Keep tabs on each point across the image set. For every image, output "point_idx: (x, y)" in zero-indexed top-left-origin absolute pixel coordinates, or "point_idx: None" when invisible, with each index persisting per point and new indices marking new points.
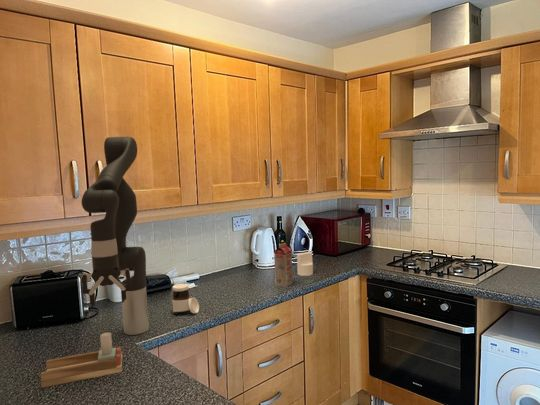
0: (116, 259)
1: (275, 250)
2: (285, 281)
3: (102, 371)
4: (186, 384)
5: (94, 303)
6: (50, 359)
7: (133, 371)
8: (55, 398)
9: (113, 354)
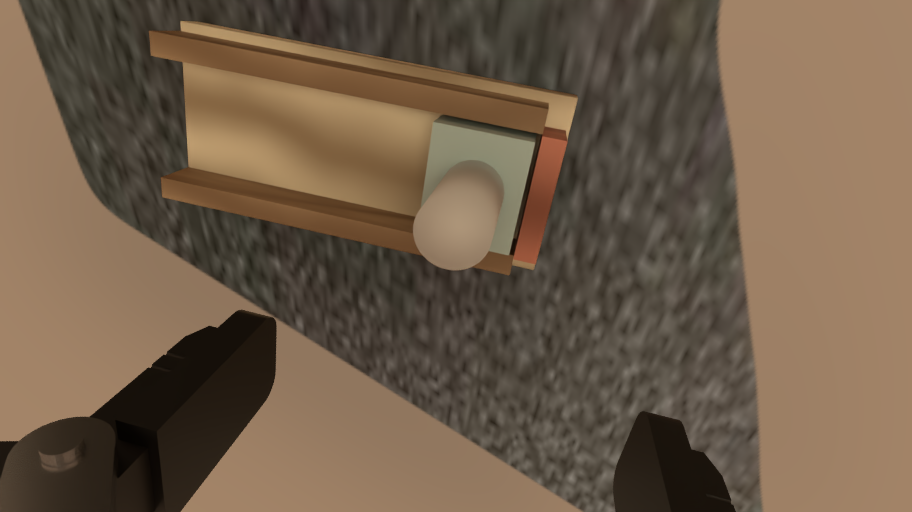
0: None
1: None
2: None
3: None
4: None
5: (249, 414)
6: (167, 34)
7: (584, 287)
8: (272, 303)
9: (502, 238)
